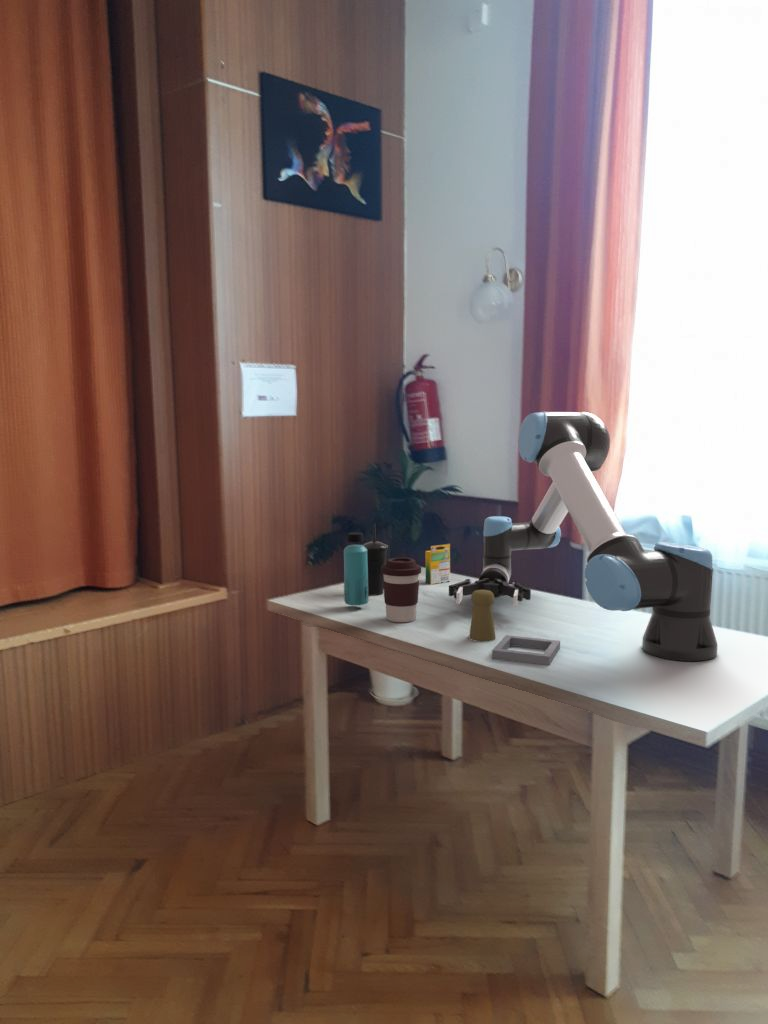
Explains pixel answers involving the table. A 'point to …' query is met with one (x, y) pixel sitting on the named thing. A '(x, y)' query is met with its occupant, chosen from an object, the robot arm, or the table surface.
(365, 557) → the beverage bottle
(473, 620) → the cork
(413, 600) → the coffee cup
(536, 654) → the gray square frame
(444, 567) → the crayon box
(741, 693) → the table surface
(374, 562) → the drinking cup
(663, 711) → the table surface
